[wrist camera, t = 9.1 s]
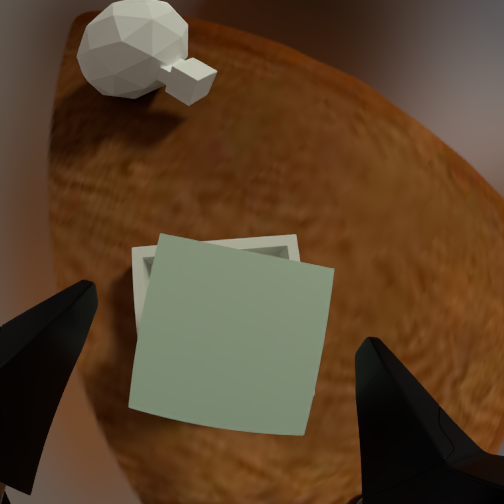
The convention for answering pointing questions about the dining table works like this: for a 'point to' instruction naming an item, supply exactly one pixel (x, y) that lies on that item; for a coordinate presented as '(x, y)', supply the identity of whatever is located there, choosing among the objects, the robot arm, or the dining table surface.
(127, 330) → the dining table surface
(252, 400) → the block
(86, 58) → the perfume bottle
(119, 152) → the dining table surface
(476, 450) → the robot arm
